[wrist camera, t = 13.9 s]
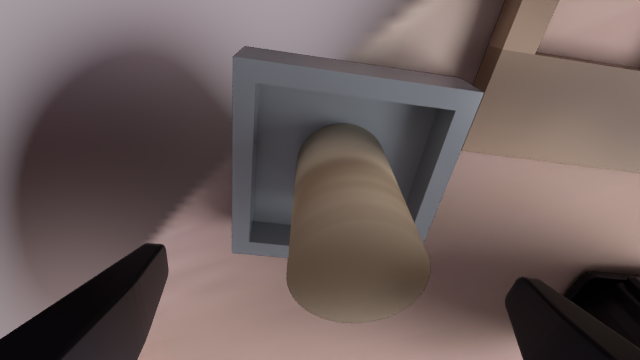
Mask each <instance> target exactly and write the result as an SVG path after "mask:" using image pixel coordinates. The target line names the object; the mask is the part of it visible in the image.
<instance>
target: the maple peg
mask: <svg viewBox="0 0 640 360" xmlns="http://www.w3.org/2000/svg"><path fill="white" fill-rule="evenodd" d="M430 271H431V265H430V259H429V256H428V254H427V251H426V249H425V247H424V244H423V242H422V240H421V237H420V235H419V233H418V230H417V228H416V226H415V223H414V221H413V219H412V216H411V214H410V212H409V209H408V207H407V205H406V202H405V200H404V198H403V195H402V193H401V191H400V188H399V186H398V184H397V181H396V179H395V177H394V174H393V172H392V170H391V167H390V165H389V163H388V160H387V158H386V156H385V153H384V151H383V149H382V146H381V144H380V143H379V141H378V140H377V138H376V137H375V136H374V135H373V134H372V133H370V132H369V131H367V130H366V129H364V128H362V127H360V126H357V125H353V124H345V123H340V124H332V125H328V126H325V127H323V128H321V129H319V130H317V131H315V132H314V133H313V134H311V135H310V136H309V137H308V138H307V139H306V140H305V142H304V143H303V145H302V146H301V148H300V150H299V153H298V157H297V166H296V177H295V187H294V198H293V209H292V220H291V231H290V242H289V253H288V264H287V285H288V288H289V291H290V293H291V294H292V296H293V298H294V299H295V300H296V301H297V303H298V304H299V305H301V306H302V307H303V308H304V309H305V310H307V311H308V312H310V313H312V314H314V315H316V316H318V317H321V318H323V319H327V320H330V321H335V322H342V323H364V322H371V321H376V320H380V319H383V318H386V317H389V316H391V315H394V314H396V313H398V312H400V311H402V310H403V309H405V308H406V307H408V306H409V305H410V304H412V303H413V302H414V301H415V300H416V299H417V298H418V297H419V296H420V295H421V293H422V292H423V291H424V289H425V287H426V285H427V283H428V280H429V277H430Z"/></svg>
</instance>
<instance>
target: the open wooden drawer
mask: <svg viewBox="0 0 640 360" xmlns="http://www.w3.org/2000/svg"><path fill="white" fill-rule="evenodd" d="M558 2H559V0H505V3H504V5H503V8H502V10H501V13H500V16H499V18H498V21H497V24H496V26H495V29H494V31H493V34H492V37H491V39H490V42H489V45H488V47H487V50H486V52H485V55H484V58H483V60H482V63H481V66H480V68H479V71H478V73H477V76H476V79H475V81H474V84H473V86H474V87H476V88H477V89H479V90H481V91H482V92H484V94H483V97H482V99H481V102H480V104H479V107H478V109H477V112H476V114H475V117H474V119H473V122H472V124H471V127H470V129H469V132H468V134H467V137H466V139H465V141H464V144H463V146H462V149H461V151H466V152H474V153H482V154H490V155H497V156H505V157H513V158H521V159H529V160H537V161H545V162H553V163H561V164H569V165H577V166H585V167H593V168H601V169H608V170H616V171H624V172H632V173H640V69H638V68H632V67H625V66H619V65H613V64H606V63H600V62H594V61H587V60H581V59H575V58H568V57H562V56H556V55H549V54H543V53H537V52H536V51H537V49H538V46H539V44H540V42H541V40H542V38H543V35H544V33H545V31H546V29H547V27H548V24H549V22H550V20H551V18H552V16H553V13H554V11H555V9H556V7H557V5H558Z"/></svg>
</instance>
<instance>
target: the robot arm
mask: <svg viewBox="0 0 640 360" xmlns="http://www.w3.org/2000/svg"><path fill="white" fill-rule="evenodd" d="M167 277H168V262H167V254H166V248H165V246H164V245H162V244H154V243H146V244H143V245H142V246H140V247H139V248H137V249H136V250H134V251H133V252H131V253H130V254H128V255H127V256H125V257H124V258H122V259H121V260H119V261H118V262H116V263H115V264H113V265H112V266H110V267H109V268H107V269H106V270H104V271H103V272H101V273H100V274H98V275H97V276H95V277H93V278H92V279H91V280H89V281H88V282H86V283H84V284H83V285H81V286H80V287H78V288H77V289H75V290H74V291H72V292H71V293H69V294H68V295H66V296H65V297H63V298H62V299H60V300H59V301H57V302H56V303H54V304H53V305H51V306H50V307H48V308H47V309H45V310H44V311H42V312H41V313H39V314H38V315H36V316H35V317H33V318H32V319H30V320H29V321H27V322H26V323H24V324H22V325H21V326H19V327H18V328H16V329H15V330H13V331H12V332H10V333H9V334H7V335H6V336H4V337H3V338H1V339H0V360H137V359H138V357H139V355H140V352H141V350H142V348H143V346H144V343H145V341H146V338H147V336H148V333H149V330H150V327H151V324H152V321H153V319H154V316H155V313H156V310H157V307H158V304H159V301H160V298H161V295H162V292H163V289H164V286H165V283H166V280H167ZM505 306H506V309H507V312H508V315H509V318H510V321H511V324H512V327H513V330H514V333H515V336H516V339H517V342H518V346H519V349H520V352H521V355H522V357H523V360H640V276H634V275H623V274H613V273H602V272H587V273H585V274H583V275H582V276H581V277H579V279H578V280H577V281H576V283H575V284H574V285H573V286H572V288H571V289H570V290H569V292H568V293H567V294H566V295H565V297H564V296H563V295H561V294H560V293H558V292H557V291H555V290H554V289H553V288H551V287H550V286H548V285H547V284H545V283H544V282H542V281H541V280H539V279H538V278H534V277H524V276H522V277H519V278H518V279H517V280H516V281H515V283H514V285H513V286H512V288H511V289H510V291H509V292H508V294H507V295H506V298H505Z"/></svg>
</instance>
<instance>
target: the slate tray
mask: <svg viewBox="0 0 640 360" xmlns="http://www.w3.org/2000/svg"><path fill="white" fill-rule="evenodd" d="M483 94H484V92H482V91H481V90H479V89H477V88H476V87H474V86H472V85H471V84H469V83H468V82H466V81H464V80H463V79H461V78H458V77H451V76H444V75H437V74H431V73H424V72H417V71H410V70H403V69H397V68H390V67H383V66H376V65H369V64H363V63H356V62H349V61H342V60H335V59H329V58H322V57H315V56H307V55H301V54H294V53H287V52H281V51H274V50H268V49H260V48H254V47H247V46H245V47H243V48H242V49H241V50H240V51H239V52H238V53H236V54H235V55H234V56H233V118H232V122H233V123H232V126H233V127H232V137H233V138H232V253H238V254H249V255H260V256H271V257H282V258H288V253H289V242H290V231H291V220H292V209H293V198H294V187H295V177H296V166H297V157H298V153H299V150H300V148H301V146H302V145H303V143H304V142H305V140H306V139H307V138H308V137H309V136H310V135H311V134H313V133H314V132H315V131H317V130H319V129H321V128H323V127H325V126H328V125H332V124H340V123H345V124H353V125H357V126H360V127H362V128H364V129H366V130H367V131H369V132H370V133H372V134H373V135H374V136H375V137H376V138H377V140H378V141H379V143H380V144H381V146H382V149H383V151H384V153H385V156H386V158H387V160H388V163H389V165H390V167H391V170H392V172H393V174H394V177H395V179H396V181H397V184H398V186H399V188H400V191H401V193H402V195H403V198H404V200H405V202H406V205H407V207H408V209H409V212H410V214H411V216H412V219H413V221H414V223H415V226H416V228H417V230H418V233H419V235H420V237H421V240H422V242H423V243H424V241H425V238H426V236H427V233H428V231H429V228H430V226H431V223H432V221H433V218H434V216H435V214H436V211H437V209H438V206H439V204H440V201H441V199H442V196H443V194H444V191H445V189H446V186H447V184H448V181H449V179H450V176H451V174H452V171H453V169H454V166H455V164H456V161H457V159H458V156H459V154H460V151H461V149H462V146H463V144H464V141H465V139H466V137H467V134H468V132H469V129H470V127H471V124H472V122H473V119H474V117H475V114H476V112H477V109H478V107H479V104H480V102H481V99H482V97H483Z"/></svg>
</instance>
